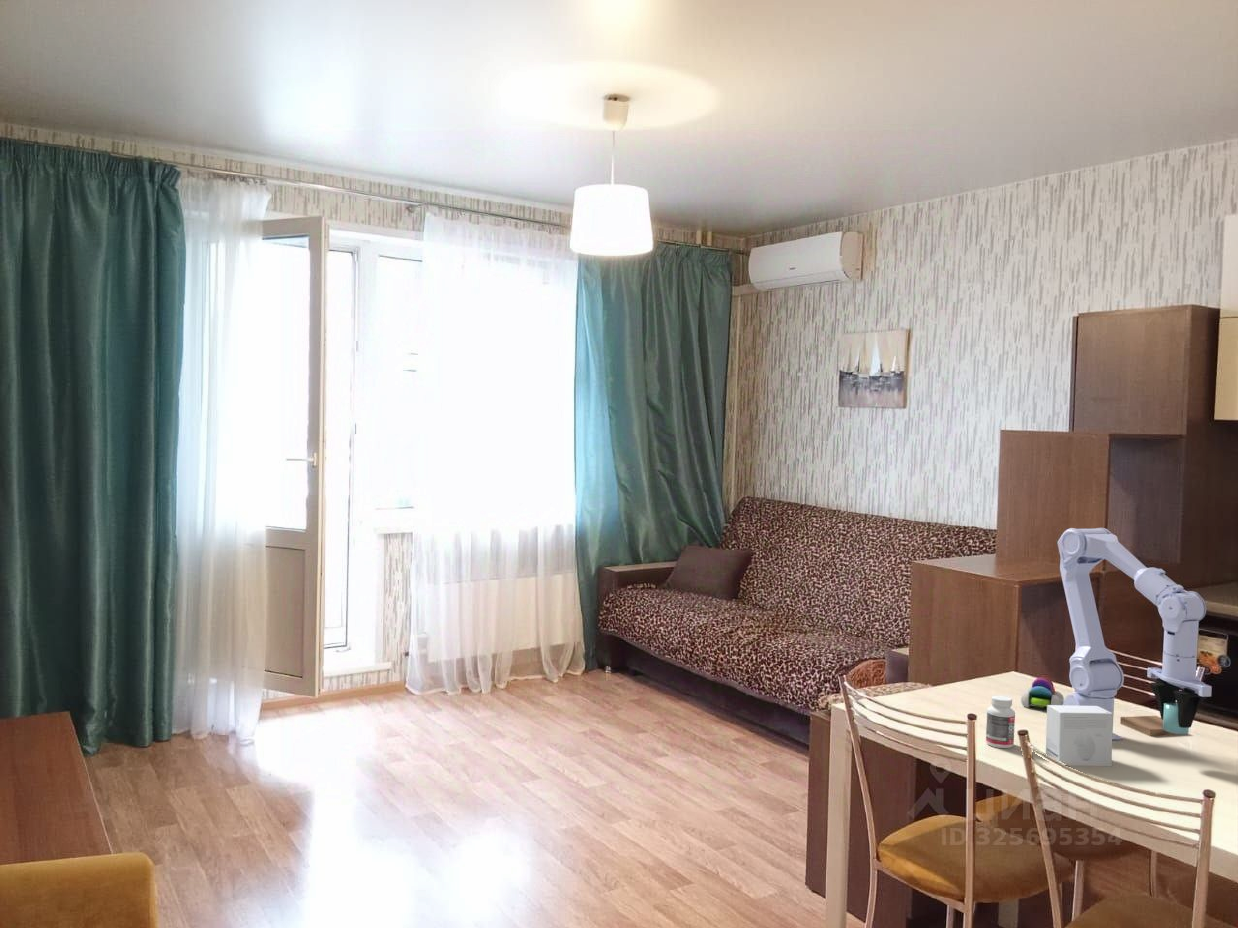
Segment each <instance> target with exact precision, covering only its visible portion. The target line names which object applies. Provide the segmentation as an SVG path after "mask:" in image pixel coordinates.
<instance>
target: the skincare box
mask: <svg viewBox="0 0 1238 928" xmlns="http://www.w3.org/2000/svg"><path fill="white" fill-rule="evenodd" d="M1112 727H1113V728H1114V716H1113V713H1111V712H1109V711H1107V710H1105V709H1103V708H1101V707H1099V706H1069V705H1047V706H1046V727H1045V728H1046V734H1045V755H1046V754H1047V755H1049V756H1051V757H1053V758H1055V759H1056V760H1058V761H1061V762H1062V763H1064V764H1066V765H1069V767H1070V766H1071V767H1077V766H1078V767H1112V765H1113V759H1112V758H1113V757H1112V756H1113V740H1112Z"/></svg>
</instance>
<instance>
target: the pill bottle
mask: <svg viewBox="0 0 1238 928" xmlns="http://www.w3.org/2000/svg"><path fill="white" fill-rule="evenodd" d="M990 699H991V700H990V702H991V703H990V704H991V705H990V706H988V707H987V709H986V728H985V729H986V730H985V731H986V732H985V743H986V744H987V745H988V746H991V747H994V748H997V749H1011V748H1013V747H1014V743H1015V742H1014V741H1015V721H1016V712H1015V710H1014V709H1012V708H1011V707H1012V705H1013V698H1012V697H1009V696H1004V695H993V696H991V698H990Z"/></svg>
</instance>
